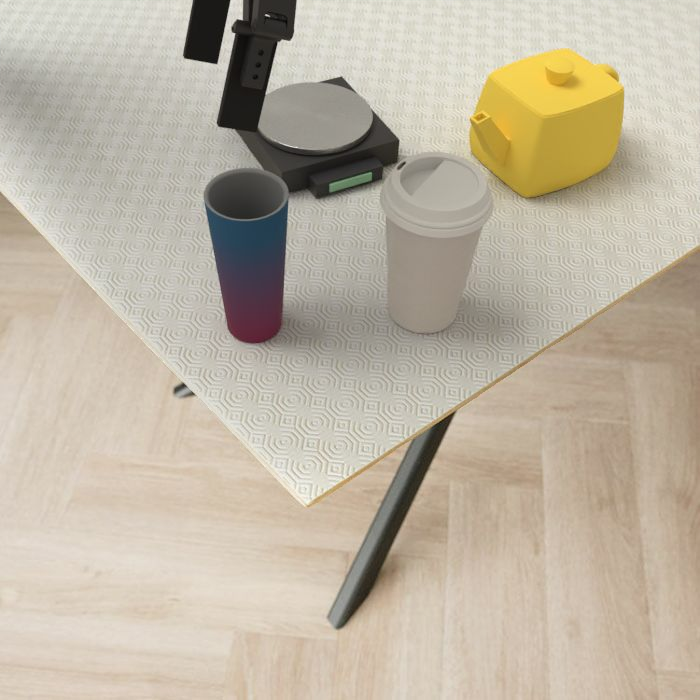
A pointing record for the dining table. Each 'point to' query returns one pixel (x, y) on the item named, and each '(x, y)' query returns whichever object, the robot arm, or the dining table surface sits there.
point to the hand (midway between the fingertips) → (216, 91)
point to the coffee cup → (432, 236)
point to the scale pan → (314, 118)
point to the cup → (249, 248)
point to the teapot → (548, 121)
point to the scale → (329, 159)
